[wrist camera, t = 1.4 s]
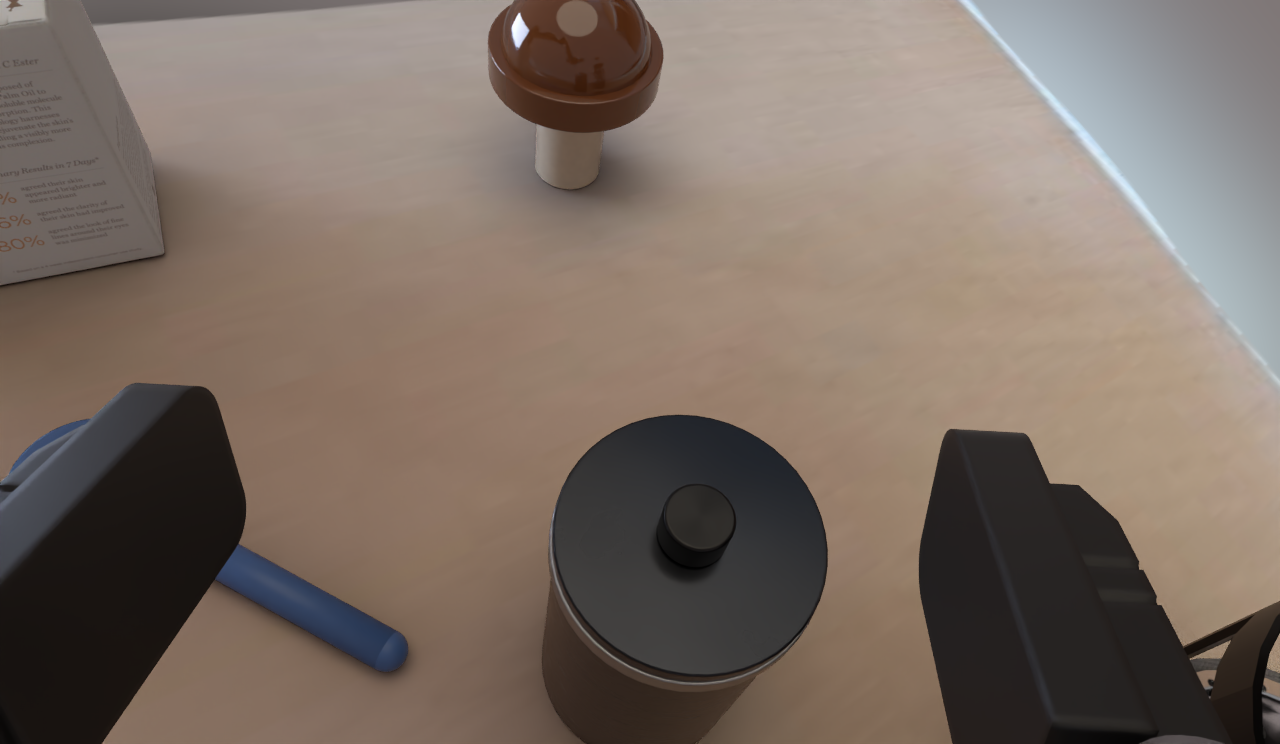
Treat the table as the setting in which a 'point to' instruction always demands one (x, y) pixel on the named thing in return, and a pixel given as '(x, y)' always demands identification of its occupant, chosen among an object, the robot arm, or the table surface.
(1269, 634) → the french press
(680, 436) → the pot
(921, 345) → the table surface
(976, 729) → the robot arm
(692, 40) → the table surface
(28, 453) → the round blue paddle
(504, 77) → the mushroom
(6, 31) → the small box
